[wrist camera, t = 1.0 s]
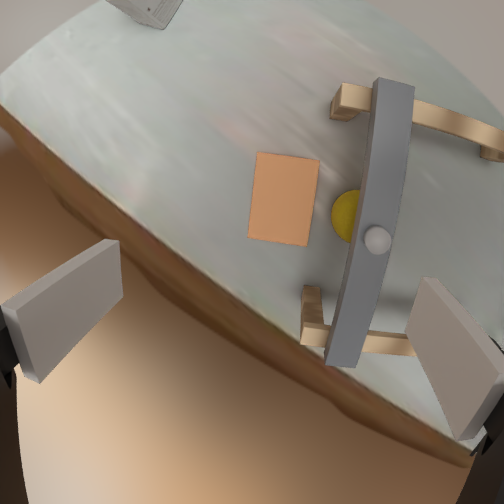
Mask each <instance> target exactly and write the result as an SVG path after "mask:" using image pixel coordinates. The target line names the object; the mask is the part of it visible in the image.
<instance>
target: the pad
mask: <svg viewBox="0 0 504 504" xmlns="http://www.w3.org/2000/svg"><path fill="white" fill-rule="evenodd" d="M319 164H320V161H318V160H312V159H305V158H298V157H291V156H284V155H276V154H268V153H260V152H257V159H256V167H255V176H254V185H253V193H252V202H251V211H250V220H249V229H248V238H252V239H259V240H266V241H272V242H279V243H285V244H292V245H298V246H305V247H307V243H308V237H309V231H310V225H311V218H312V212H313V205H314V199H315V192H316V185H317V178H318V171H319Z"/></svg>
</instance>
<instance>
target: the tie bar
mask: <svg viewBox="0 0 504 504" xmlns="http://www.w3.org/2000/svg"><path fill="white" fill-rule="evenodd" d="M414 91H415V87H414V86H411V85H407V84H404V83H400V82H396V81H392V80H388V79H384V78H380V77H378V78H377V79H376V80H375V81H374V82H373V91H372V102H371V113H370V122H369V131H368V139H367V147H366V154H365V162H364V168H363V175H362V182H361V188H360V194H359V200H358V206H357V212H356V217H355V223H354V228H353V233H352V238H351V243H350V248H349V253H348V258H347V262H346V267H345V272H344V276H343V280H342V285H341V289H340V293H339V297H338V302H337V306H336V310H335V314H334V318H333V321H332V325H331V329H330V333H329V337H328V340H327V344H326V347H325V351H324V359H325V365H330V366H338V367H348V368H356V365H357V362H358V359H359V357H360V354H361V351H362V348H363V345H364V342H365V339H366V336H367V333H368V330H369V327H370V323H371V320H372V317H373V314H374V310H375V307H376V303H377V300H378V296H379V293H380V289H381V286H382V282H383V278H384V274H385V271H386V267H387V263H388V258H389V254H390V250H391V246H392V241H393V237H394V232H395V228H396V223H397V218H398V213H399V208H400V202H401V197H402V191H403V185H404V179H405V173H406V166H407V159H408V152H409V144H410V136H411V127H412V117H413V105H414Z"/></svg>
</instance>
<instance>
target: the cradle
mask: <svg viewBox="0 0 504 504" xmlns="http://www.w3.org/2000/svg"><path fill="white" fill-rule="evenodd" d="M372 91H373V89H372V88H368V87H363V86H358V85H353V84H348V83H342V85H341V86H340V88H339V90H338V91H337V93H336V95H335V96H334V98H333V100H332V101H331V109H330V119H336V120H341V121H348V120H350V119H351V118H353V117H354V116H356V115H357V114H359V113H360V112H362V111H364V112H368V113H371V102H372ZM412 123H414V124H417V125H421V126H425V127H428V128H431V129H435V130H438V131H441V132H445V133H448V134H451V135H454V136H457V137H460V138H463V139H466V140H469V141H471V142H474V143H477V144H480V145H481V153H480V157H481V158H484V159H487V160H490V161H495V162H503V163H504V131H502V130H500V129H497V128H495V127H493V126H490V125H488V124H485V123H483V122H480V121H478V120H475V119H473V118H470V117H467V116H465V115H462V114H459V113H456V112H453V111H451V110H448V109H445V108H442V107H439V106H435V105H432V104H429V103H426V102H422V101H419V100H416V99H414V105H413V117H412ZM330 329H331V326H330V325H324V320H323V310H322V301H321V293H320V288H319V287H312V286H306V285H304V288H303V293H302V298H301V330H300V344H302V345H309V346H317V347H324V348H325V347H326V344H327V340H328V337H329V333H330ZM361 352H369V353H379V354H391V355H404V356H417V355H416V353H415V351H414V349H413V347H412V345H411V343H410V341H409V339H408V337H407V335H406V334H399V333H389V332H380V331H371V330H368V333H367V336H366V339H365V342H364V345H363V348H362V351H361Z"/></svg>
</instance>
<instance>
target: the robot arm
mask: <svg viewBox="0 0 504 504" xmlns="http://www.w3.org/2000/svg"><path fill="white" fill-rule="evenodd" d="M122 297H123V289H122V278H121V265H120V249H119V241H117V240H109V239H104V240H102V241H101V242H99V243H97V244H96V245H94V246H92V247H90V248H89V249H87V250H86V251H84V252H82V253H80V254H79V255H77V256H75V257H74V258H72V259H70V260H69V261H67V262H66V263H64V264H63V265H61V266H59V267H57V268H56V269H54V270H53V271H51V272H49V273H48V274H46V275H45V276H43V277H42V278H40V279H39V280H37V281H36V282H34V283H32V284H31V285H29V286H28V287H26V288H25V289H24V290H22V291H20V292H19V293H18V294H16V295H15V296H13V297H12V298H10V299H9V300H7V301H6V302H4V303H3V304H1V305H0V504H29V502H28V498H27V493H26V488H25V482H24V477H23V469H22V462H21V455H20V445H19V435H18V422H17V395H16V394H17V390H16V382H17V381H16V380H17V379H16V373H15V371H14V367H15V366H16V365H17V364H18V363H19V364H20V366H21V369H22V372H23V374H24V377H27V378H28V379H31V380H33V381H35V382H37V383H39V384H40V383H41V382H42V381H43V380H44V379H45V378H46V377H47V375H48V374H49V373H50V372H51V371H52V370H53V369H54V368H55V367H56V366H57V365H58V363H59V362H60V361H61V360H62V359H63V358H64V357H65V356H66V355H67V354H68V353H69V352H70V351H71V350H72V348H73V347H74V346H75V345H76V344H77V343H78V342H79V341H80V340H81V339H82V338H83V337H84V336H85V335H86V334H87V333H88V332H89V331H90V330H91V329H92V328H93V327H94V326H95V324H97V322H98V321H100V319H101V318H102V317H103V316H104V315H105V314H106V313H107V312H108V311H109V310H110V309H111V308H112V307H113V306H114V305H115V304H116V303H117V302H118V301H119V300H120V299H121V298H122ZM405 333H406V335H407V337H408V339H409V341H410V343H411V345H412V347H413V349H414V351H415V353H416V355H417V357H418V359H419V361H420V363H421V365H422V367H423V369H424V371H425V373H426V375H427V377H428V379H429V381H430V383H431V385H432V388H433V390H434V392H435V394H436V396H437V398H438V401H439V403H440V405H441V407H442V409H443V412H444V414H445V416H446V419H447V421H448V423H449V426H450V428H451V430H452V433H453V435H454V438H455V440H456V441H462V440H467V439H473V438H474V437H475V436H476V435H477V433H478V432H479V430H480V429H481V428H482V426H483V425H484V427H485V429H486V431H487V433H486V435H485V436H484V437H483V439H482V440H481V441H480V442H479V444H478V445H477V446H476V448H475V449H474V450H473V451H472V453H471V454H470V456H473V455H474V454H475V453H476V452H477V454H476V457H475V460H474V463H473V465H472V468H471V470H470V473H469V475H468V477H467V480H466V482H465V485H464V487H463V489H462V491H461V493H460V496H459V498H458V500H457V502H456V504H504V351H503V350H501V348H500V346H499V345H498V344H497V343H496V341H495V340H494V339H492V338H491V337H489V336H488V335H487V334H486V333H485V331H484V330H483V329H482V328H481V327H480V325H479V324H478V323H477V322H476V321H475V320H474V319H473V317H472V316H471V315H470V314H469V313H468V312H467V311H466V310H465V308H464V307H463V306H462V305H461V304H460V303H459V302H458V301H457V300H456V298H455V297H454V296H453V295H452V294H451V293H450V292H449V291H448V290H447V289H446V288H445V287H444V286H443V285H442V284H441V282H440V281H439V280H438V279H437V278H432V277H423V276H422V277H421V281H420V284H419V288H418V291H417V294H416V298H415V301H414V304H413V307H412V311H411V314H410V317H409V320H408V323H407V326H406V329H405Z"/></svg>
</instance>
